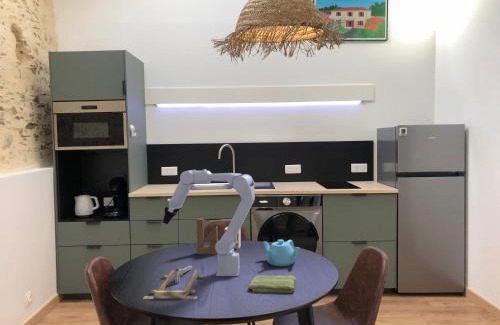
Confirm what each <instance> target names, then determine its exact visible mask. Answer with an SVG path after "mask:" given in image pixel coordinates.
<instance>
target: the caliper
mask: <svg viewBox="0 0 500 325" xmlns="http://www.w3.org/2000/svg"><path fill="white" fill-rule="evenodd" d="M192 268H193V266H192V265H188V266H186V267H184V268H180V267H176V268H175V275H174V284H175V285H176V284H179V283H180V280H181V277H183V275H184V274H185V273H186V272H188V271H191V270H192Z"/></svg>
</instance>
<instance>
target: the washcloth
mask: <svg viewBox="0 0 500 325" xmlns="http://www.w3.org/2000/svg"><path fill="white" fill-rule="evenodd" d="M296 283H297V278H296V277H295V276H294V275H291V274H290V275H257V276H255V277H253V279H252V280H251V281H250V283H249V285H248V289H250V290H252V293H272V294H273V293H274V294H275V293H278V294H281V293H285V294H286V293H287V294H292V293H294V292H295V291H296V289H295V287H296Z"/></svg>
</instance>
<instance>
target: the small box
mask: <svg viewBox="0 0 500 325" xmlns="http://www.w3.org/2000/svg"><path fill="white" fill-rule="evenodd" d="M227 228H228V226H226V227H225V228H224V232H223V234H224V233H225V232H226V230H227ZM241 235H242V234H241V229H240V230H239V232H238V234H237V238H236V245H235V247H234V248H233V249H234V250H239V249H240V248H241V245H242V244H241V242H242V240H241V238H242V236H241Z"/></svg>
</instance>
